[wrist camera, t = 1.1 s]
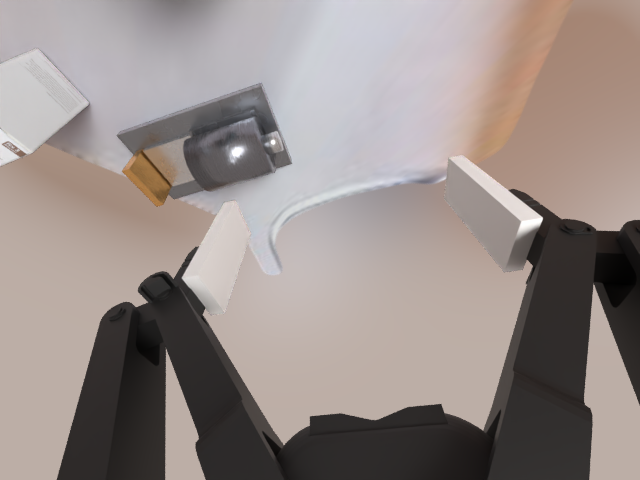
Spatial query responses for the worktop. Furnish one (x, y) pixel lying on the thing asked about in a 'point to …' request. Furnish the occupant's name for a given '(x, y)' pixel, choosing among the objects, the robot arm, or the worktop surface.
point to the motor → (206, 146)
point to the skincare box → (33, 104)
